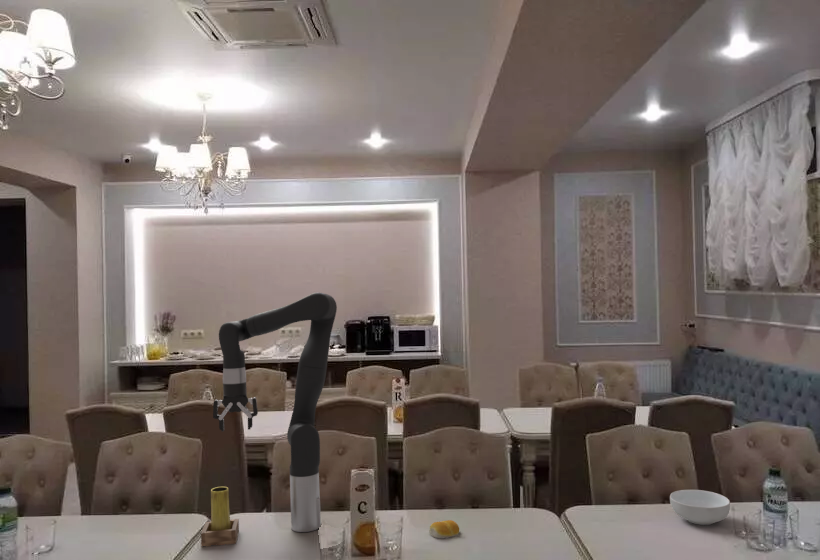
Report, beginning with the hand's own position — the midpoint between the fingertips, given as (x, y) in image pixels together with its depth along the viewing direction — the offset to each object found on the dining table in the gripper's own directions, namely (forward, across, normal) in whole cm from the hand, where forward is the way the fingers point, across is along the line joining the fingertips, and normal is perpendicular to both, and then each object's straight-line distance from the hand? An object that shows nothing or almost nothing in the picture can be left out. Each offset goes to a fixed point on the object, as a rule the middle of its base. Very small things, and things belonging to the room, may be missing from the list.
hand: (236, 430), depth 212 cm
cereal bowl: (+30, -142, +39) cm, 151 cm away
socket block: (+30, +4, +15) cm, 34 cm away
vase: (+29, +4, +15) cm, 33 cm away
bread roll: (+31, -63, +29) cm, 76 cm away
